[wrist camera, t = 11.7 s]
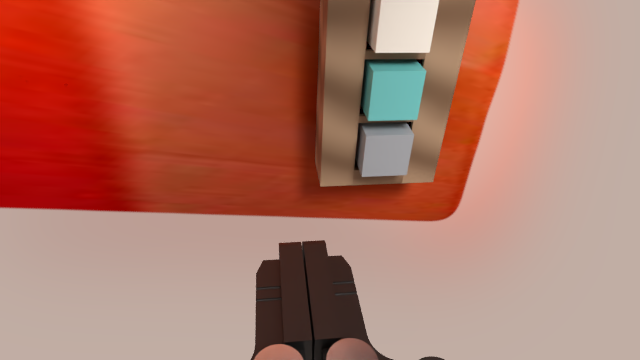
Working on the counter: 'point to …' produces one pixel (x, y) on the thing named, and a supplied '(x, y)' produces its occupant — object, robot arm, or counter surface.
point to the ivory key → (401, 25)
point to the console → (346, 86)
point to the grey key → (383, 148)
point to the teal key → (392, 89)
